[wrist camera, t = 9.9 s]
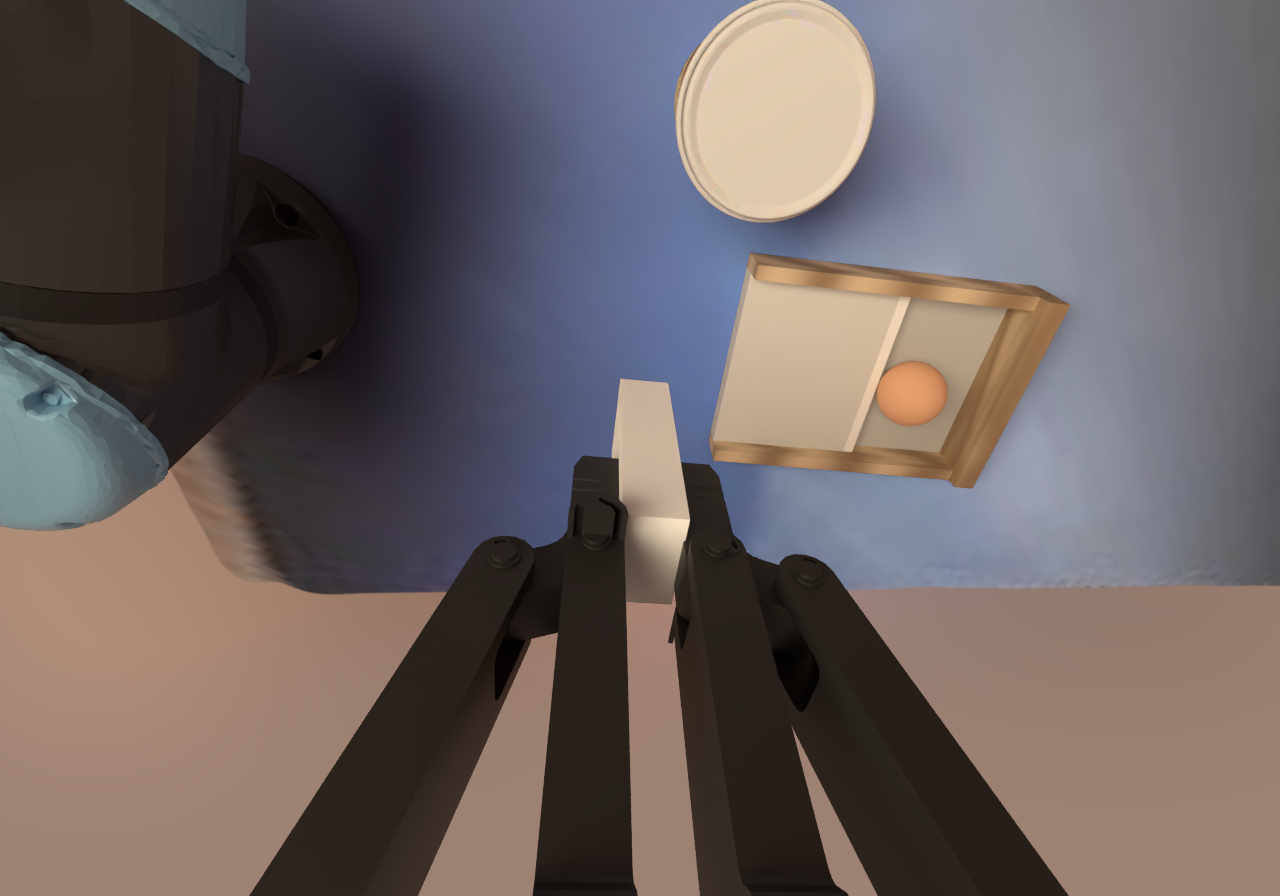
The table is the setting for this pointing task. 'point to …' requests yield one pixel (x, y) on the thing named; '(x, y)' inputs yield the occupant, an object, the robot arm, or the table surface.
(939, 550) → the table surface
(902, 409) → the ball
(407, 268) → the table surface
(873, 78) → the coffee cup
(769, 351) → the mat
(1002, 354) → the lane frame
